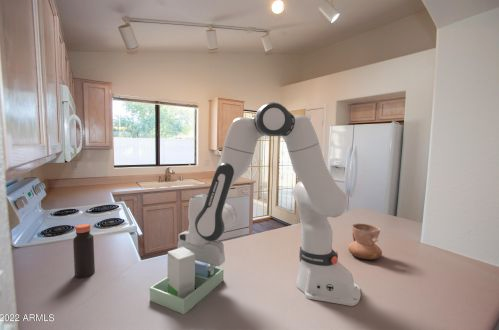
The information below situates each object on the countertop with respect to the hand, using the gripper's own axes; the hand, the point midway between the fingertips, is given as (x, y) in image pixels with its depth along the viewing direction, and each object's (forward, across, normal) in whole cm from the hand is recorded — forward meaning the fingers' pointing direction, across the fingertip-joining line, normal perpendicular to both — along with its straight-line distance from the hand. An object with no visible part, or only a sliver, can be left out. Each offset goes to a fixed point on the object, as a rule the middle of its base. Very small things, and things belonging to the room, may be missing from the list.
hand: (200, 271), depth 94 cm
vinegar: (+4, +45, +18) cm, 48 cm away
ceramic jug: (+4, -55, -54) cm, 77 cm away
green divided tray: (+4, 0, +7) cm, 8 cm away
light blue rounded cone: (+4, 0, 0) cm, 4 cm away
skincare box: (+4, 0, +11) cm, 11 cm away
